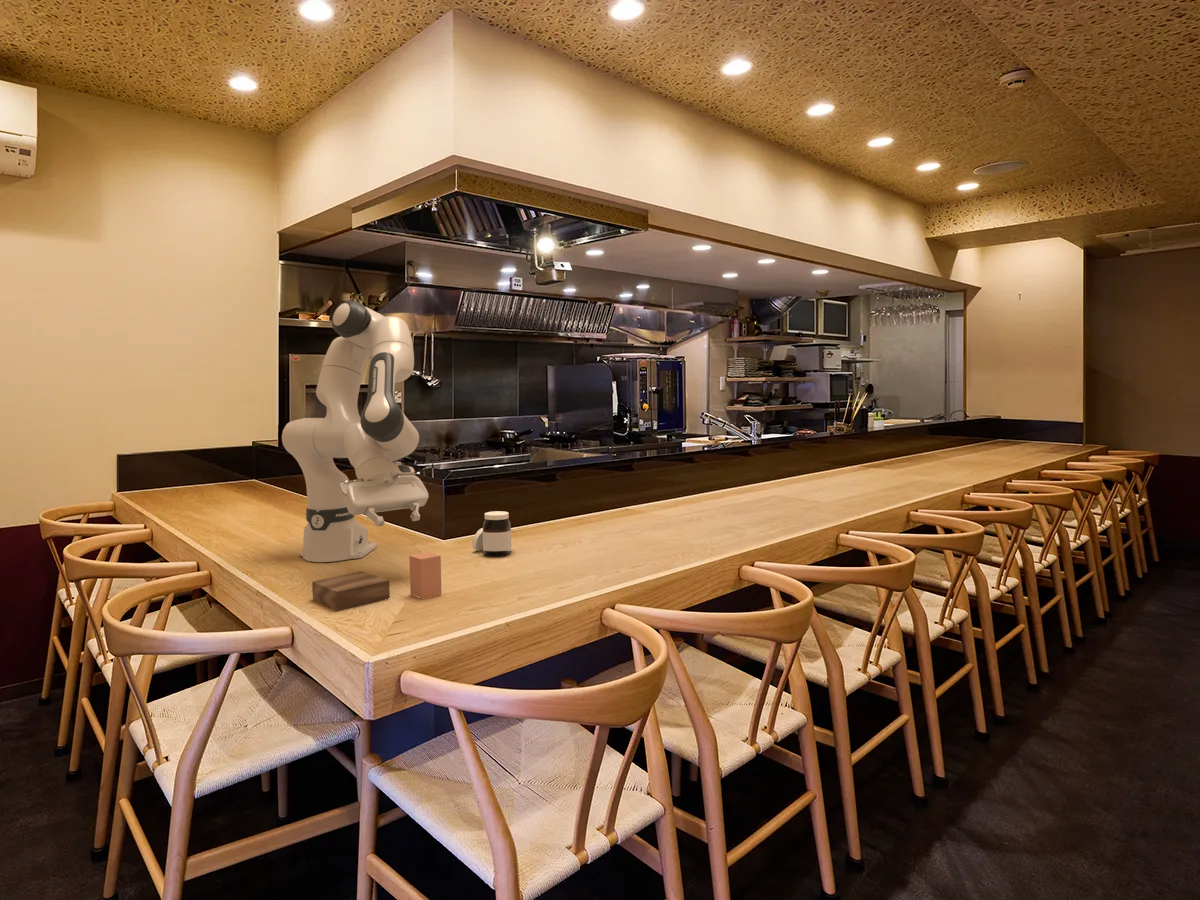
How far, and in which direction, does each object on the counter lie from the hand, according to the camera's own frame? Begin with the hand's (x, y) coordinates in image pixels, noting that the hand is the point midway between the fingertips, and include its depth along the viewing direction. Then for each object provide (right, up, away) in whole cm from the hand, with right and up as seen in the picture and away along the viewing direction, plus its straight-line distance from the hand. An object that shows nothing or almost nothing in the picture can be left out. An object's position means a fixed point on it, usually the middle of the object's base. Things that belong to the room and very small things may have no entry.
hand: (399, 522), depth 165 cm
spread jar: (+17, -13, +33) cm, 39 cm away
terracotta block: (+8, -16, -8) cm, 20 cm away
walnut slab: (-7, -16, -11) cm, 21 cm away
